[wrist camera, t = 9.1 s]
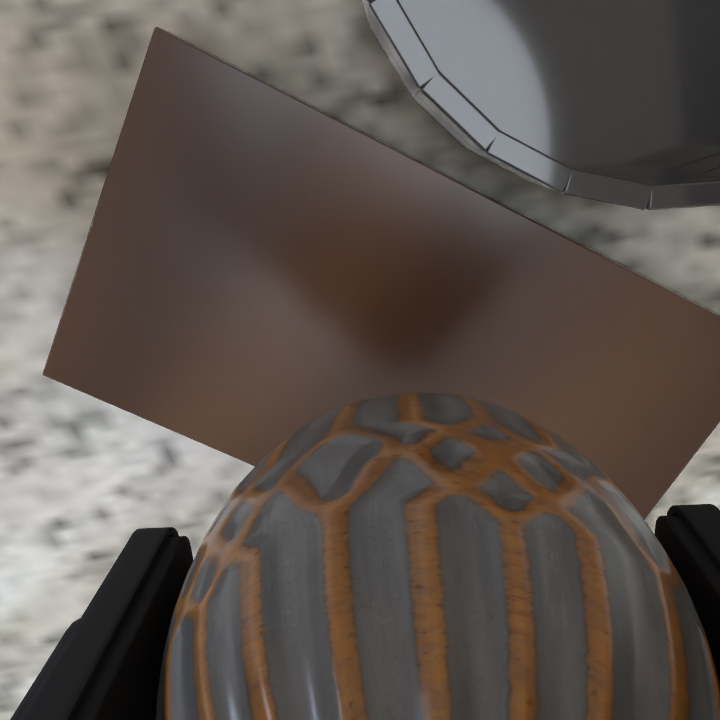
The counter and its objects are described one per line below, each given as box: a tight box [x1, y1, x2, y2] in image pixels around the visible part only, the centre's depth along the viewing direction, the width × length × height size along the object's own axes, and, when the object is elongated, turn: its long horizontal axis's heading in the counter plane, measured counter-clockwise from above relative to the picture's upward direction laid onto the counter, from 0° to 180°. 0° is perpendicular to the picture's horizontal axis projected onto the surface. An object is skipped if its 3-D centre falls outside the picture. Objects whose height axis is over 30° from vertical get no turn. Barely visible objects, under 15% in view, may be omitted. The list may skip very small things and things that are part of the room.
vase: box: [156, 393, 720, 720], centre depth 8 cm, size 7×7×9 cm
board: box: [43, 27, 720, 520], centre depth 20 cm, size 20×11×2 cm, turn 64°
